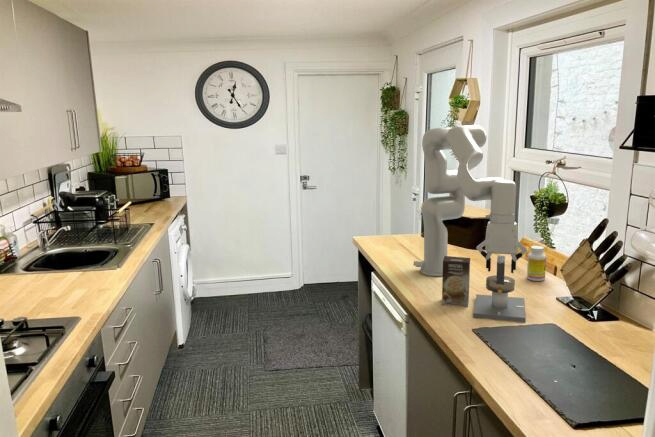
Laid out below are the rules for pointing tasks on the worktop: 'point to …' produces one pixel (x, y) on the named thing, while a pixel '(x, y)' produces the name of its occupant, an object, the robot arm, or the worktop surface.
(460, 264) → the coffee box
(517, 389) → the worktop surface
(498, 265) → the rotary knob
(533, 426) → the worktop surface
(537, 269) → the supplement bottle
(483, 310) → the post base
